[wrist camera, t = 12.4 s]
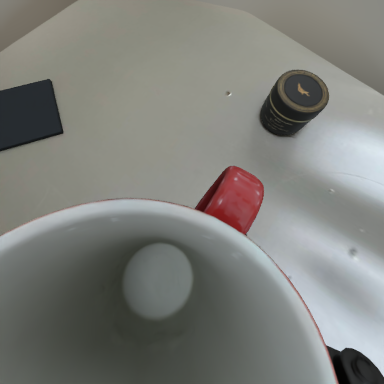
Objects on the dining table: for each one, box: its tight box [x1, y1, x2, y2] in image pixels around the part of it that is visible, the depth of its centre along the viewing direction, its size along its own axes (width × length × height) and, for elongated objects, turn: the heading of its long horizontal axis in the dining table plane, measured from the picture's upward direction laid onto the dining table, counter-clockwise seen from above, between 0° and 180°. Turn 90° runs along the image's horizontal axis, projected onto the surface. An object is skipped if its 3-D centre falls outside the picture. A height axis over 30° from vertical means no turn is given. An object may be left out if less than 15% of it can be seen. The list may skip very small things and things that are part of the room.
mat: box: [0, 79, 63, 151], centre depth 34 cm, size 14×14×1 cm
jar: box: [261, 70, 329, 135], centre depth 33 cm, size 10×10×8 cm
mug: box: [0, 166, 339, 384], centre depth 10 cm, size 13×9×14 cm
